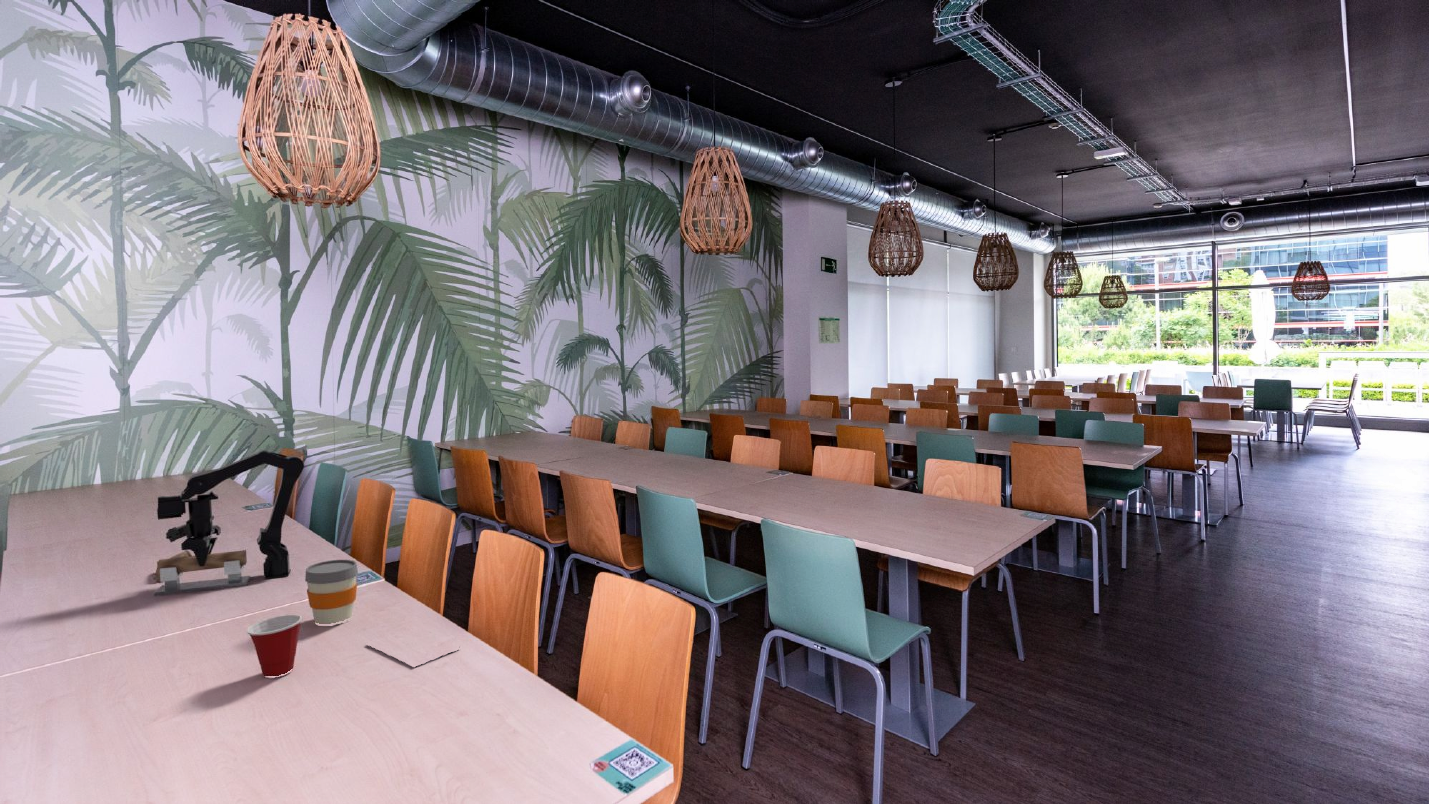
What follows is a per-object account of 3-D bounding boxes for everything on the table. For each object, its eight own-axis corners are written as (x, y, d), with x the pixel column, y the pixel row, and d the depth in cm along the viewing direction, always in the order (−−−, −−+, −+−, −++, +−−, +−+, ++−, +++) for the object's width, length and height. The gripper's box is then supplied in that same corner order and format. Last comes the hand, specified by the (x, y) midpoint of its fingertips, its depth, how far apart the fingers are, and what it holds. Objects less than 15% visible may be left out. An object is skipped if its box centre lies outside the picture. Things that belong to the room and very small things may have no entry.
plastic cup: (265, 663, 164) (262, 613, 163) (313, 661, 165) (311, 612, 164) (237, 685, 153) (235, 632, 152) (289, 683, 154) (287, 630, 153)
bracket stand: (250, 578, 224) (249, 554, 223) (246, 585, 218) (244, 560, 217) (162, 588, 215) (160, 563, 214) (154, 595, 208) (153, 569, 208)
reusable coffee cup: (370, 614, 194) (368, 561, 193) (332, 632, 182) (329, 575, 181) (335, 609, 198) (333, 557, 197) (295, 625, 186) (293, 570, 185)
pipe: (148, 569, 218) (187, 559, 224) (156, 556, 232) (192, 546, 237) (154, 589, 219) (193, 578, 225) (161, 574, 233) (197, 564, 239)
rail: (246, 562, 222) (246, 550, 222) (245, 564, 219) (244, 552, 219) (160, 572, 212) (159, 559, 212) (157, 575, 210) (157, 562, 209)
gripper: (177, 510, 220) (180, 559, 221) (158, 524, 203) (161, 577, 204) (219, 507, 224) (222, 555, 225) (204, 520, 207) (207, 572, 208)
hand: (203, 564), depth 216 cm, fingers closed on rail, 3 cm apart
